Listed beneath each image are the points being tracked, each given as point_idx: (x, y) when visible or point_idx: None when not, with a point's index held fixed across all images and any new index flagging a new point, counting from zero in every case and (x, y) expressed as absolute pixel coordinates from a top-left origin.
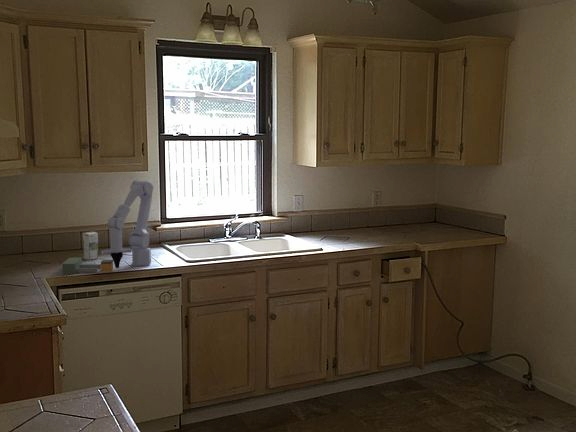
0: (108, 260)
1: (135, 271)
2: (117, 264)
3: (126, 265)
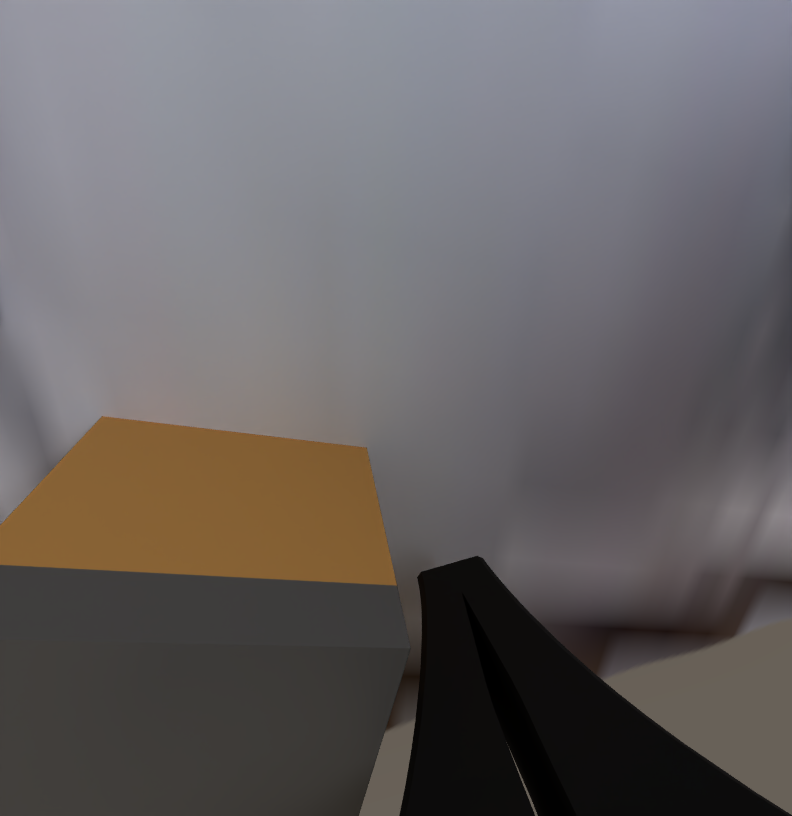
0: (227, 753)
1: (714, 640)
2: (494, 705)
3: (755, 58)
